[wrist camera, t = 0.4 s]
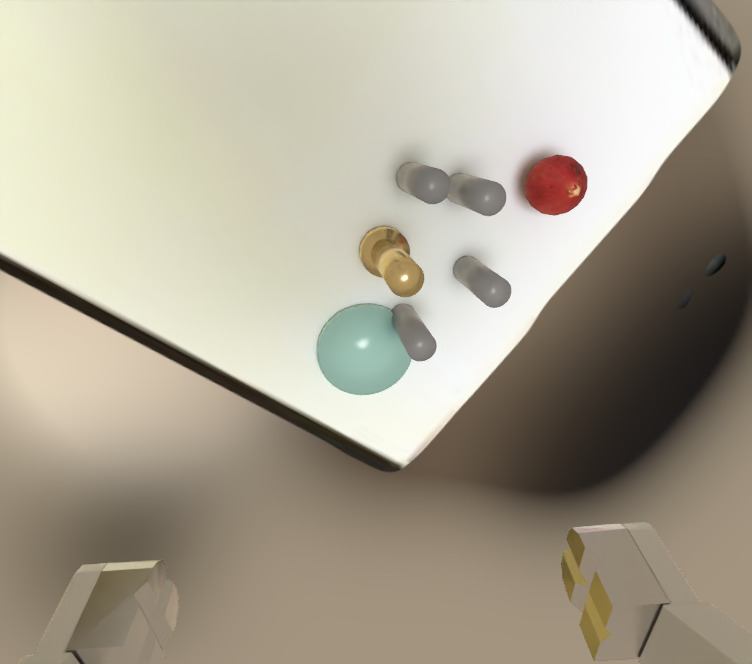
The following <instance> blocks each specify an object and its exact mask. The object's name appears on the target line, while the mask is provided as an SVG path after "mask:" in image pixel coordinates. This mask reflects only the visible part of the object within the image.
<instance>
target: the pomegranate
mask: <svg viewBox="0 0 752 664" xmlns="http://www.w3.org/2000/svg"><path fill="white" fill-rule="evenodd" d="M525 188H526V197H527V199H528V201H529V203H530V205H531V206H532V207H534V208H535V209H536V210H538V211H539V212H541V213H543V214H549V215H559V214H563V213H566V212H569V211H570V210H572V209H573V208H574V207H576V206H577V205H578V204H579V203H580V201H581V200H582V199H583V197H584V195H585V192H586V190H587V176H586V173H585V171H584V169H583V167H582V165H580V164H579V163H578V162H577V161H576V160H574V159H573V158H572V157H568V156H562V155H555V156H552V157H549V158H546V159H543V160H542V161H540V162H539V163H538V164H537V165H535V166H534V167H533V169H532V170H531V172H530V173H529V175H528V177H527V182H526V185H525Z"/></svg>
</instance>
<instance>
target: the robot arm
mask: <svg viewBox="0 0 752 664" xmlns="http://www.w3.org/2000/svg"><path fill="white" fill-rule="evenodd" d="M566 540H567V542H568V544H569V547H570V548H569V549H567V550H566V551H565V552H564V553H563V556H562V561H561V568H562V578H563V582H564V585H565V589H566V592H567V594H568V597H569V600H570V602H571V603H572V604H573V605H574V606H576V607H577V608H578V609H579V610H580V611H581V612H582V617H581V621H580V628H581V630H582V633H583V635H584V638H585V640H586V643H587V645H588V648H589V650H590V652H591V655H592V657H593V660H594V661H606V660H625V659H639V663H640V664H752V633H751V632H749V631H748V630H746V629H745V628H744V627H742V626H741V625H740V624H738V623H737V622H736V621H734V620H733V619H731V618H730V617H729V616H727V615H726V614H724V613H723V612H722V611H720V610H719V609H718V608H716V607H715V606H713V605H712V604H711V603H709V602H700V601H699V599H698V598H697V596H696V595H695V593H694V591H693V590H692V588H691V587H690V585H689V583H688V582H687V580H686V579H685V577H684V576H683V574H682V572H681V571H680V569H679V568H678V566H677V565H676V563H675V561H674V560H673V558H672V557H671V555H670V554H669V552H668V550H667V549H666V547H665V546H664V544H663V542H662V541H661V539H660V538H659V536H658V535H657V533H656V531H655V530H654V528H653V527H652V526H651V525H649V524H648V523H645V522H638V523H628V524H609V525H598V526H587V527H577V528H571V529H570V530H569V531H568V534H567V539H566ZM167 572H168V568H167V566H166V564H165V562H164V560H153V561H138V562H121V563H103V564H90V565H82V566H81V567H80V569H79V570H78V571H77V572H76V573H75V574H74V576H73V578H72V580H71V582H70V584H69V585H68V587H67V590H66V592H65V593H64V595H63V597H62V599H61V601H60V603H59V605H58V607H57V609H56V611H55V613H54V615H53V617H52V619H51V621H50V623H49V625H48V627H47V629H46V631H45V632H44V634H43V636H42V638H41V640H40V642H39V644H38V646H37V648H36V650H35V652H34V654H33V655H27V656H24V657H23V658H22V659H21V660H20V661H19V662H17V663H16V664H164V663H165V659H166V657H165V654H164V652H163V649H162V645H163V644H164V643H165V642H166V641H167V639H168V638H169V637H170V636H171V635H172V634H173V632H174V628H175V624H176V620H177V615H178V605H179V599H178V592H177V588H176V586H175V584H174V583H173V582H171V581H170V580H168V579H166V576H167Z"/></svg>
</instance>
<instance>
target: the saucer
mask: <svg viewBox="0 0 752 664" xmlns="http://www.w3.org/2000/svg"><path fill="white" fill-rule="evenodd" d="M392 316H393V313H392V311H391V310H389V309H387V308H385V307H383V306H379V305H375V304H359V305H354V306H351V307H348V308H346V309H343V310H342V311H340V312H338V313H337V314H336V315H334V316H333V317H332V318H331V319H330V320H329V321H328V322H327V323H326V325H325V326H324V328H323V330H322V332H321V334H320V336H319V340H318V346H317V354H318V361H319V365H320V368H321V371H322V373H323V374H324V376H325V377H326V379H327V380H328V381H329V382H330V383H331V384H332V385H334V386H335V387H336V388H338V389H340V390H342V391H344V392H347V393H350V394H355V395H369V394H374V393H378V392H381V391H383V390H385V389H387V388H389V387H391V386H392V385H394V384H395V383H396V382H397V381H398V380H399V379H400V378H401V377H402V376H403V375H404V373H405V372H406V370H407V369H408V367H409V365H410V362H411V359H412V358H410V356H409V355H408V353H407V351H406V349H405V348H404V346H403V344H402V342H401V340H400V338H399V336H398V334H397V333H396V331H395V329H394V327H393V325H392Z"/></svg>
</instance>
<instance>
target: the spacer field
mask: <svg viewBox="0 0 752 664" xmlns="http://www.w3.org/2000/svg"><path fill="white" fill-rule="evenodd" d="M396 181H397V184H398V186H399V187H400V189H402V190H403V191H405V192H407V193H409V194H410V195H412V196H414V197H416V198H418V199H420V200H422V201H424V202H426V203H428V204H437V203H440V202H441V201H443V200H444V199H445V198H446V197H447V198H448V199H449V200H450V201H452V202H454V203H457V204H459V205H461V206H464V207H466V208H468V209H471V210H473V211H475V212H477V213H480V214H482V215H485V216H492V215H495V214H497V213H498V212H499V211H500V210H501V209H502V208H503V206H504V204H505V201H506V192H505V190H504V188H503V186H502V185H501V184H499V183H497V182H494V181H490V180H486V179H482V178H478V177H474V176H470V175H466V174H461V173H458V174H454V175H452V176H451V177H450V178H449V177H448V175H447V174H446V173H445V172H444V171H442V170H441V169H437V168H433V167H429V166H426V165H422V164H418V163H414V162H408V163H405V164H403V165H402V166H401V167H400V168H399V170H398V172H397V175H396ZM453 273H454V276H455V278H456V279H457V280H459V281H460V282H461V283H462V284H463V285H464V286H465V287H466V288H468V289H469V290H470V291H471V292H472V293H473V294H474V295H476V296H477V297H478V298H479V299H480V300H481V301H482V302H483V303H485V304H486V305H487V306H489V307H493V308H496V307H500V306H502V305H504V304H505V303H506V302H507V301H508V299H509V298H510V295H511V286H510V284H509V283H508V281H506V280H505V279H504V278H502V277H501V276H499V275H498V274H496V273H495V272H493V271H492V270H490V269H489V268H488V267H486V266H485V265H483V264H482V263H480V262H479V261H477V260H476V259H475V258H473V257H471V256H464V257H461V258H460V259H458V260H457V261H456V263H455V264H454V267H453ZM391 311H392V313H393V316H392V325H393V327H394V329H395V331H396V333H397V334H398V336H399V338H400V340H401V342H402V344H403V346H404V348H405V349H406V351H407V353H408V355H409V356H410V358H412V359H413V360H415V361H425V360H427V359H429V358H430V357H432V356H433V354H434V353H435V351H436V341H435V339H434V338H433V336H432V335H431V333H430V332H429V331H428V329H427V328H426V326H425V325H424V323H423V322H422V321H421V319H420V318H419V316H418V315H417V313H416V312H415V310H414V309H413V308H412V307H411V306H410V305H408V304H399V305H397V306H395V307H394V308H393V309H392V310H391Z"/></svg>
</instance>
